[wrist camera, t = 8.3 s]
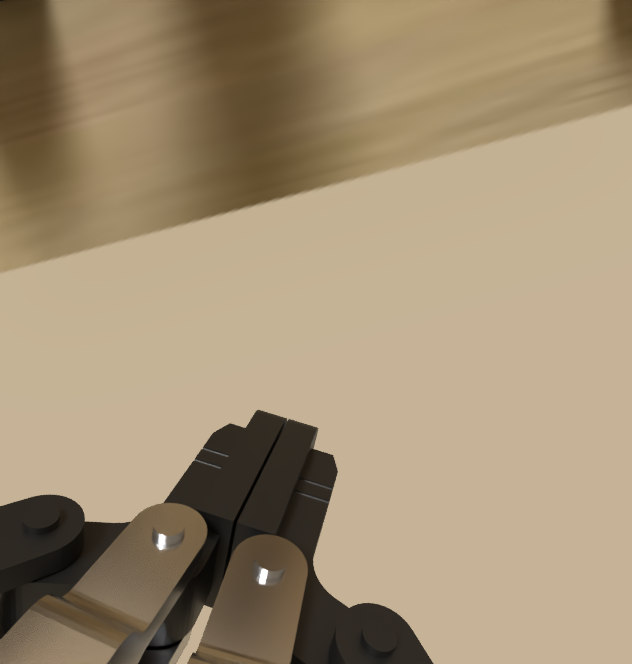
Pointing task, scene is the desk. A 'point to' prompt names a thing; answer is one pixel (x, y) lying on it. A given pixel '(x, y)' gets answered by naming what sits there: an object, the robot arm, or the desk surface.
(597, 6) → the desk surface
